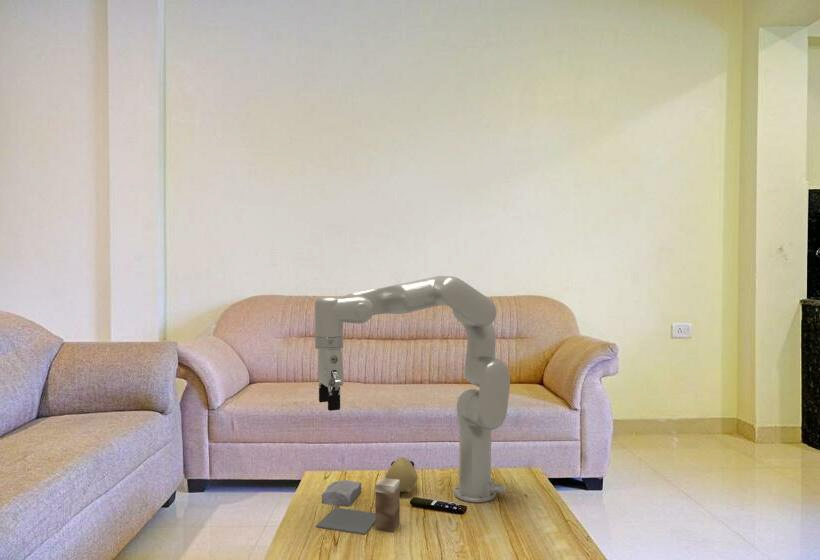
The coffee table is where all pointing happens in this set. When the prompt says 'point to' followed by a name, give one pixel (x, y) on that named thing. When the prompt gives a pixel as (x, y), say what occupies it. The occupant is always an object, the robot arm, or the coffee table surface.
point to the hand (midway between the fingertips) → (329, 405)
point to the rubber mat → (348, 521)
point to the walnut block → (387, 504)
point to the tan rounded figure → (403, 473)
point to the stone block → (341, 493)
